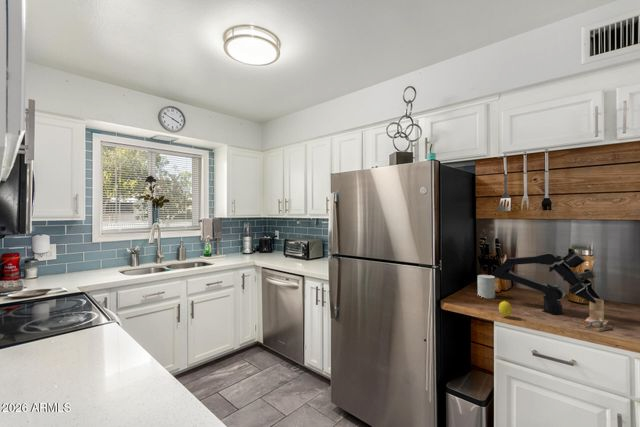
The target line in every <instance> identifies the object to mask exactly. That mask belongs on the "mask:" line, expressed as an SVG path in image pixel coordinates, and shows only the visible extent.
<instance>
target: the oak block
mask: <svg viewBox="0 0 640 427" xmlns="http://www.w3.org/2000/svg"><path fill="white" fill-rule="evenodd" d="M593 298H594V297H593ZM594 299H595V301H596V303H592V302H590V301H588V302H589V303H588V304H589V305H588V306H589V308H588V309H589V313H588V314H589V315H588V317H590V321H599V317H600V318H602V322H603V321H604V320H605V303H604V302H605V300H604V299H602V298H600V299H597V298H594Z"/></svg>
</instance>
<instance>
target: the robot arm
mask: <svg viewBox="0 0 640 427" xmlns="http://www.w3.org/2000/svg"><path fill="white" fill-rule="evenodd" d="M585 262H587V259H586V258H585V257H584V256H583V255H582V254H579V253H578V252H576V251H575V250H571V251H570V252H569V253H568V254H566V255H564V256H562V255H557V254H556V253H555V252H547V253H543V254H539V255H532V256H531V255H530V256H522V257H521V256H519V257H508V258H506V259H505V261H504V262H503V263H502V264H501V265H499V267H496V269H494V270H493V276H494V277H495V279H496V278H497V279H499V280H506V281H511V282H514V283H518V284H520V285H523V286H525V287H528V288H532V289H534V290H537V291H539V292H541V293H543V294H544V296H543V297H542V299H543V309H542V312H543V313H548V314H550V315H551V314H552V315H553V316H554V315H555V316H556V315H562V314H564V312H563V305H562V301H560V300H561V299H563V298H564V297H565V296H566V293H567V292H566V290H565V289H564V287H562V286H561V285H560V284H555V283H554V282H551V281H550V282H549V283H544V282H539V281H536V280H534V279H531V278H528V277H526V276H522V275H519V274H517V273H514V271H513V270H512V268H513V266H515V265H527V264H528V265H532V264H539V265H547V266H548V268H549V269H548V272H549V273H552V272H553V271H554V272H555V273H556V274H558V275H559V277H561V278H562V280H563V282H566V283H567V284H569V285H570V287H569V288H568V291H569V293H570V294H571V295H574V296H576V297H579V298H581V299H583V300H585V301H588V302H589V301H590V302H592V303H596V301H595V299H594V298H597V299H601V296H600V295H599V294H598V293H597V292H596V290H595V289H594V287H593V284H594V283H593V280H592V279H594V278H596V276H597V275H596V274H595V271H594V270H593V269H589V268H586V269H584V270H583V272H578V271H574V270H573V269H576V268H578V267H580V266H581V265H583V264H584V263H585ZM552 265H553V266H552ZM572 268H573V269H572Z"/></svg>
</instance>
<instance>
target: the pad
mask: <svg viewBox="0 0 640 427" xmlns="http://www.w3.org/2000/svg"><path fill="white" fill-rule="evenodd" d="M589 321H590V316H587V317H586V319H585V320H584V322H588V323H589ZM608 322H609V320H605V319H604V321H603V324H606V325H608Z"/></svg>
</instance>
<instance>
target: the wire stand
mask: <svg viewBox="0 0 640 427" xmlns="http://www.w3.org/2000/svg"><path fill="white" fill-rule="evenodd" d="M584 328H585V329H589V330H592V331H596V332H603V331H606V330H610V329H612V326H611V325H609V324H603V322H602V318H600V317H599V321H589V322H588V324H585V325H584Z"/></svg>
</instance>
